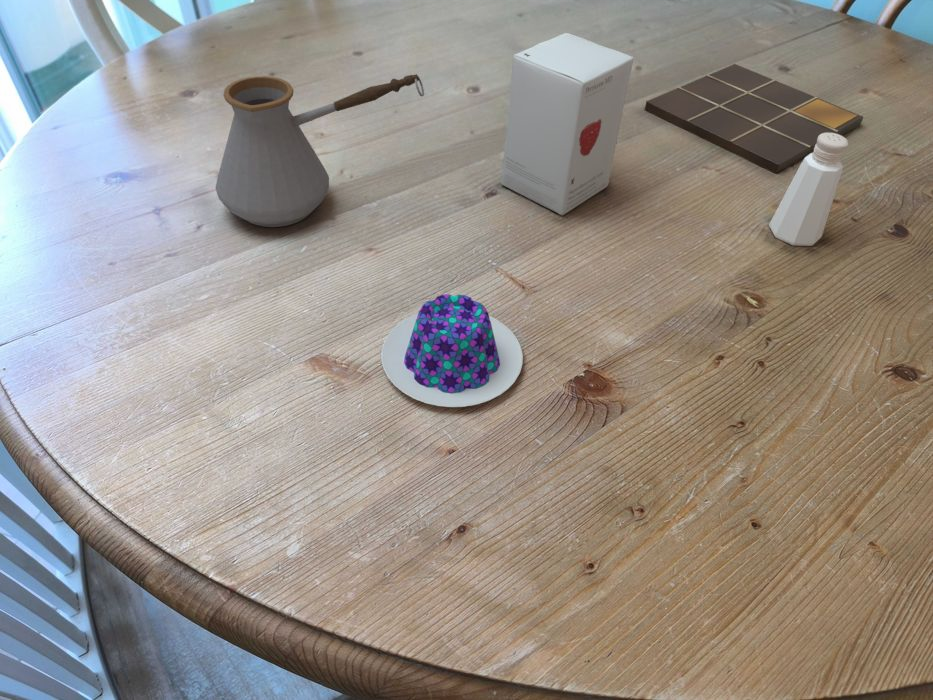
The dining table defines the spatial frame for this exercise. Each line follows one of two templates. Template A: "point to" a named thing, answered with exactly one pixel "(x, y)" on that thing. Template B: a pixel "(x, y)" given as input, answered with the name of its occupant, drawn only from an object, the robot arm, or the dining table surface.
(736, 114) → the board
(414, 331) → the pudding
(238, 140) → the coffee pot
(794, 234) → the pepper shaker
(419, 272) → the dining table surface
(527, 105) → the rectangular carton
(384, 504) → the dining table surface
